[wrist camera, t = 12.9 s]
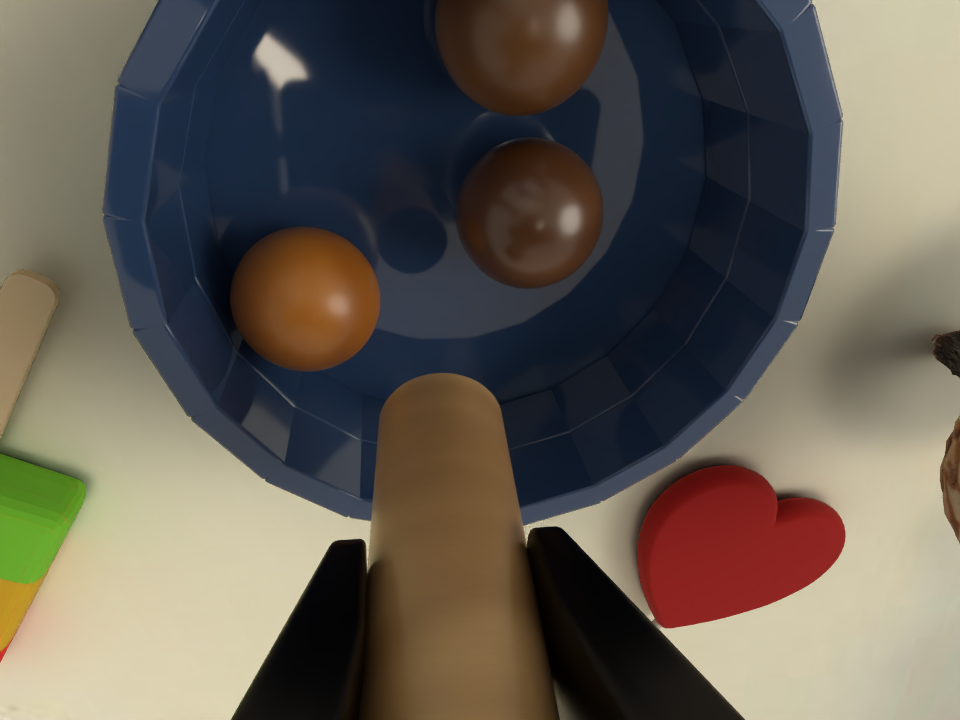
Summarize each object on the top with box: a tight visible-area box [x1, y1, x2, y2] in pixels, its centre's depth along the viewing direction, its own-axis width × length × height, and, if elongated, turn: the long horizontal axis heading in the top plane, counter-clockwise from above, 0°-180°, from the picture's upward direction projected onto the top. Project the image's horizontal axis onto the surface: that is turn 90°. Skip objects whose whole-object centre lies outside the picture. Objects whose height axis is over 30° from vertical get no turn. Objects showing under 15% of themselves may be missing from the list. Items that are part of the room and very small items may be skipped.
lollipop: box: [637, 465, 845, 629], centre depth 23 cm, size 8×1×15 cm
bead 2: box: [435, 0, 608, 116], centre depth 11 cm, size 3×3×3 cm
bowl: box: [102, 0, 843, 526], centre depth 12 cm, size 12×12×4 cm
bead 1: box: [230, 226, 380, 372], centre depth 13 cm, size 3×3×3 cm
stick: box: [358, 373, 560, 720], centre depth 7 cm, size 2×2×9 cm
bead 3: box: [456, 137, 603, 289], centre depth 13 cm, size 3×3×3 cm
